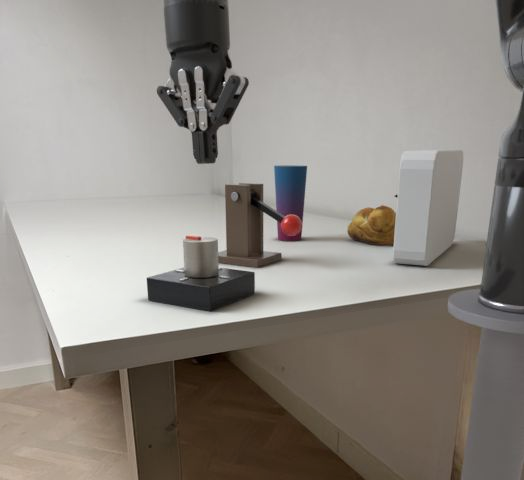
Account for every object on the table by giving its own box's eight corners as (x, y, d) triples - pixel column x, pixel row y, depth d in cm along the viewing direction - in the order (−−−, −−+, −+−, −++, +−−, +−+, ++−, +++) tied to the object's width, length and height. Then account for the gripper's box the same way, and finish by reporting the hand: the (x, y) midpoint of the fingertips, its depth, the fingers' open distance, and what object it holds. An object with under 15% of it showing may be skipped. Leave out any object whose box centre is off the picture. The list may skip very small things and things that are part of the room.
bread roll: (336, 240, 118) (338, 201, 115) (370, 236, 123) (372, 198, 120) (380, 248, 108) (383, 206, 105) (414, 243, 113) (418, 203, 110)
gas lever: (300, 238, 91) (308, 219, 90) (290, 241, 89) (298, 222, 87) (240, 199, 95) (247, 181, 93) (229, 201, 92) (235, 182, 91)
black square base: (255, 293, 74) (254, 270, 73) (210, 311, 66) (209, 285, 65) (196, 285, 79) (195, 263, 78) (147, 300, 71) (146, 276, 70)
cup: (292, 242, 114) (293, 166, 109) (267, 239, 118) (267, 165, 113) (311, 238, 119) (313, 165, 114) (286, 235, 123) (287, 165, 118)
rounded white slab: (416, 241, 116) (424, 150, 110) (454, 243, 113) (464, 150, 107) (378, 264, 93) (385, 150, 86) (424, 269, 89) (436, 150, 83)
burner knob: (225, 273, 72) (224, 236, 71) (205, 279, 69) (203, 240, 67) (198, 269, 74) (197, 233, 73) (177, 275, 71) (175, 237, 69)
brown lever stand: (281, 259, 97) (282, 183, 93) (257, 267, 91) (257, 186, 86) (234, 254, 102) (233, 182, 98) (208, 261, 96) (205, 184, 91)
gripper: (131, 10, 65) (146, 166, 70) (221, -14, 58) (231, 161, 63) (174, 22, 71) (185, 165, 76) (261, 2, 64) (266, 161, 69)
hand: (206, 163), depth 70 cm, fingers closed
